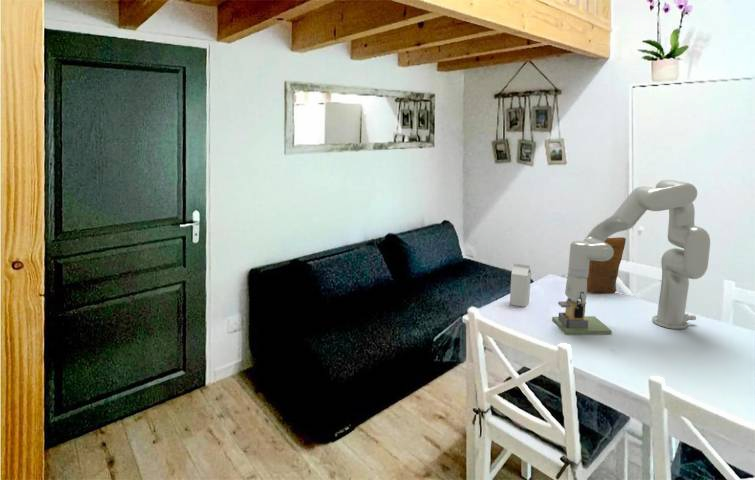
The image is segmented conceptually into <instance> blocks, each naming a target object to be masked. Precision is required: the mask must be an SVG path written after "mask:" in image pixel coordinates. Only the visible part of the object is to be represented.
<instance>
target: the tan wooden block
mask: <svg viewBox="0 0 755 480" xmlns="http://www.w3.org/2000/svg"><path fill="white" fill-rule="evenodd" d="M578 301H581V300H580V299H578ZM557 303H558V306H560V307H561V308H565V311H564V313H565V317H566V318H567V319H568V320H584V316H586V314H585V313H586V305H585V306H584V309H583V318H575V317H574V314H575V308H576V302H573V301H572V300H567V299H566V301H565V300H564V301H558V302H557ZM579 304H581V303H578V305H579Z"/></svg>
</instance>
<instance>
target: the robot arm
mask: <svg viewBox="0 0 755 480" xmlns="http://www.w3.org/2000/svg"><path fill="white" fill-rule="evenodd" d="M697 196H698V190H697V187H696V186H695V185H694V184H692V183H690V182H687V181H686V182H684V181H678V180H673V179H663V180H660V181H658V182H657V183H656V185H655V187H651V186H638V187H635V188H634V189H633V190H632V191H631V192H630V194H629V195H628V196H627V197H626V198H625V200H623V202H622V203H621V204H620V206H619V207H618V208H617V210H615V212H614V213H613V214H612V215H611V216H610V217H607V218H606V219H604V220H603V221H601V222H600V223H598V224H597V225H596V226H595V227H593V228H592V230H591V231H590V232H589V233H588V234H587V235H586V236H585V238H584V240H573V241H572V242H571V243H570V244H569V257H568V270H567V278H566V282H565V283H566V284H565V289H564V290H565V292H564V294H565V296H566V297H567V299H566V300H572V301H573V302H576V308H575V314H574V317H575V318H583V309H584V306H585V307H586V304H587V301H586V300H587V294H588V292H587V277H588V273H589V262H590V260H594V261H607V260H609V259H611V258H612V256H613V254H614V250H613V248H612V247H611V246H610V245H609V244H607V243H605V242H604V241H605V240H606V239H607V238H610V237H611V236H612V235H614V234H616V233H619V232H624V231H628V230H630V229H633V227H634V226H635V225H636V224H637V223H638V221H640V219H641V218H642V216H643V215H645V214H646V212H647V211H650V212H662V211H666V210H668V224H667V225H668V228H667V241H668V242H669V244H671V245H673V246H675V247H673V248H670V249H667V250H666V251H665V252H664V253H663V254H662V257H661V265H660V266H661V281H660V282H661V283H660V289H659V290H660V292H659V299H658V306H657V315H655V316H652V319H651V320H652V322H653V323H654V324H656V326H660V327H663V328H666V329H673V330H682V329H683V330H684V329H686V328H688V326H689V323H688V321H696V320H697V316H696V315H689V314H688V313H686V308H687V307H686V306H687V301H688V300H687V299H688V293H689V287H690V280H697V279H698V280H699V279H701V278H702V277H703V276H705V274H706V272H707V270H708V267H709V260H710V259H709V258H710V252H711V251H710V250H711V249H710V248H711V237H710V234H709V233H708V231H707V230H705V228H703V227H700V226H697V225H696V224H695V217H696V216H695V215H696V214H695V205H694V203H693V202H695V201H696V199H697ZM677 247H678V248H677ZM681 248H682V249H681ZM689 279H690V280H689ZM578 300H580V301H578ZM578 303H581V304H579V305H578Z"/></svg>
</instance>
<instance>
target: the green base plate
mask: <svg viewBox="0 0 755 480" xmlns="http://www.w3.org/2000/svg"><path fill="white" fill-rule="evenodd" d="M551 320H552V322H553V323H555V325H556V326H557V327H558V328H559V329H560V330H561V331H562V332H563V334H564V335H567V336H575V335H612V334H613V333H612V332H613V331H612V330H611V328H610V327H608V326H607V325H606V324H605V323H604V322H602V321H601V320H600V319H599V318H597V317H596V316H595V315H592V316H591V315H590V316H588V315H587V316H586V315H584V320H568V319H567V318H566V317H565V312H558V316H552V317H551Z"/></svg>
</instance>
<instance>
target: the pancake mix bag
mask: <svg viewBox="0 0 755 480" xmlns="http://www.w3.org/2000/svg"><path fill="white" fill-rule="evenodd" d="M626 241H627V238H626V237H608V238H607V239H606V240H605V241H604V242H605V243H607V244H609V245H610V246H611V247H612V248H613V250H614V254H613V256H612V258H611V259H609V260H607V261H594V260H590V262H589V273H588V277H587V294H588V293H589V294H614V293H616V292H617V279H618V276H619V270H620V265H621V261H622V259H623V254H624V249H625V248H626V247H625V246H626Z"/></svg>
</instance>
